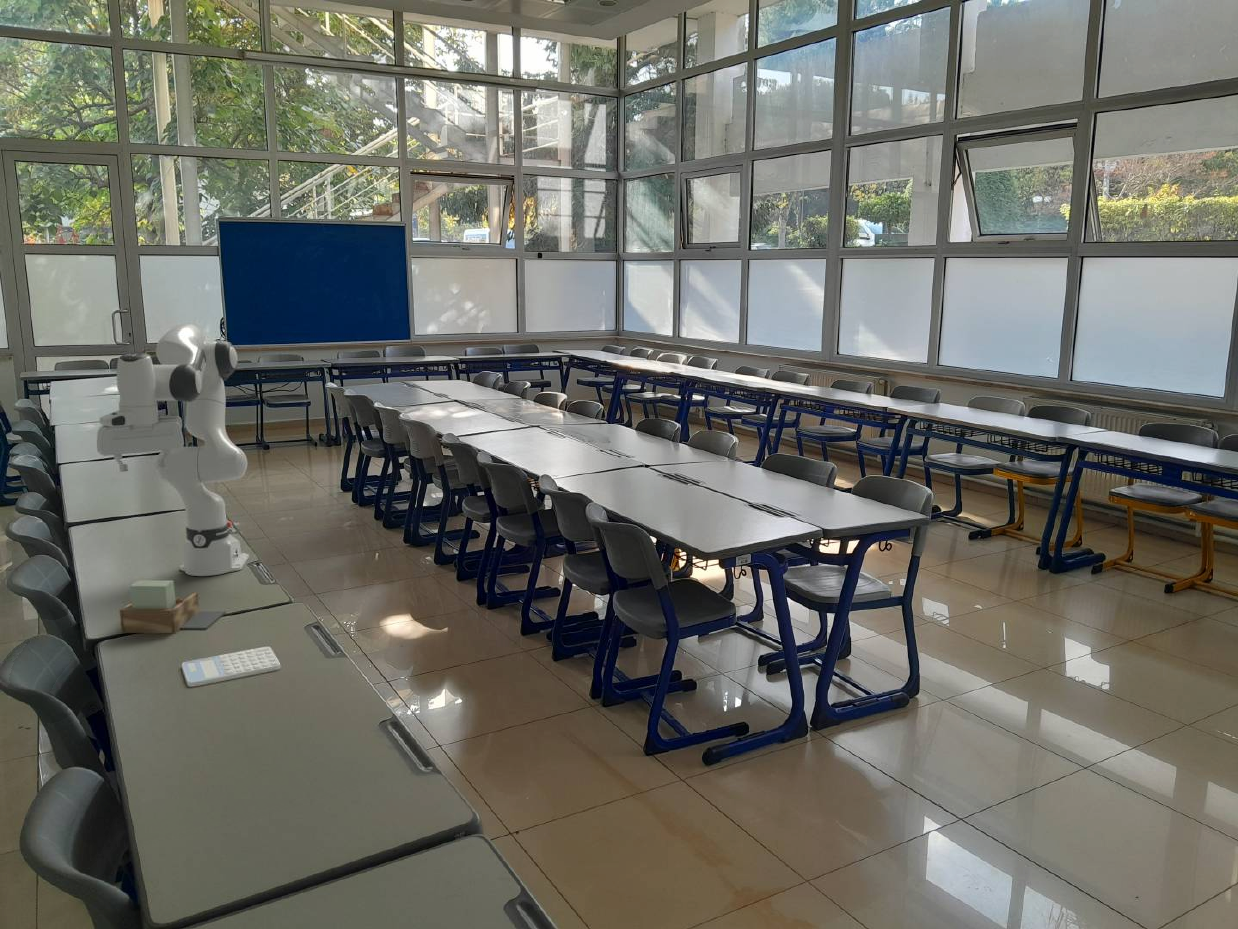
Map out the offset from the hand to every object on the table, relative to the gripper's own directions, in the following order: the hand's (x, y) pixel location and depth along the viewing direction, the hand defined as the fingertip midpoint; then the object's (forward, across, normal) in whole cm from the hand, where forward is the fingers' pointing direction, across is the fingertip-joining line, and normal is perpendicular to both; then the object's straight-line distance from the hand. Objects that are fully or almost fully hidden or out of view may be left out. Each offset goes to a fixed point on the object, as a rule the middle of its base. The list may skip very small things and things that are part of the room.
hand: (143, 469), depth 238 cm
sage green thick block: (+40, +2, +8) cm, 41 cm away
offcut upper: (+38, -2, +4) cm, 38 cm away
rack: (+40, 0, +6) cm, 41 cm away
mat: (+40, -8, +12) cm, 43 cm away
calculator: (+42, -2, +47) cm, 63 cm away
